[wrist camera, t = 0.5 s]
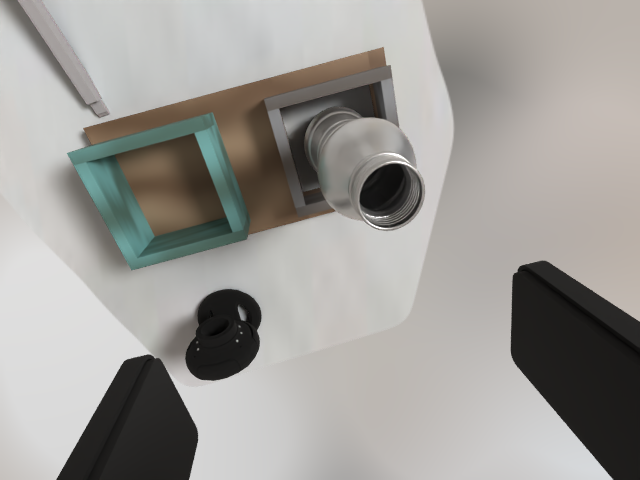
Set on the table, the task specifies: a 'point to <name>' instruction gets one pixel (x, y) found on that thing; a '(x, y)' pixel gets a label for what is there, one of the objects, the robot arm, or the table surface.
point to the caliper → (64, 54)
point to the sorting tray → (214, 162)
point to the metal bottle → (365, 168)
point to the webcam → (224, 336)
